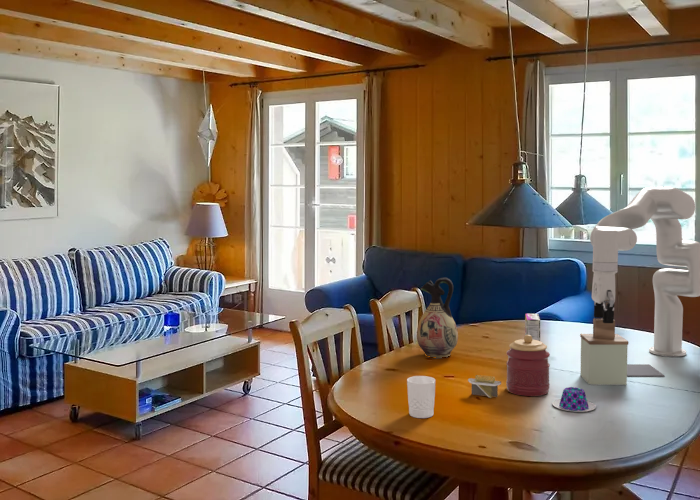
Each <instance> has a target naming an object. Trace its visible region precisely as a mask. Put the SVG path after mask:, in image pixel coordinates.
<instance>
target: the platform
mask: <svg viewBox="0 0 700 500" xmlns="http://www.w3.org/2000/svg"><path fill="white" fill-rule="evenodd" d="M467 382H469V384H471V395H474V396H485V397H488V398H490V399H491V398H494V397H495V398H498V390H499V388H498V387H499V386H500V385H502V381H499V380H496V377H495V376H491V375H490V376H489V375H481V374H480V375H478V374H477V375H475V378H472V377H471V378H468V379H467Z"/></svg>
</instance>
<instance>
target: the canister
mask: <svg viewBox="0 0 700 500" xmlns="http://www.w3.org/2000/svg"><path fill="white" fill-rule="evenodd" d="M508 346H509V350H506V356H508V357H507V361H506V381H505V382H506V388H507V389H506V390H507V391H508V392H509V393H511V394H514V395H518V396H522V397H523V396H525V397H539V396H545V395H546V394H548V393H549V389H550V365H551V364H550V363H549V357H550V355H551V354H550V352H548V351H547V349H548V346H547V345H546V344H545V343H543V342H542V341H541V340H540V341H538V340H533V338H532V336H531V335H525V334H524V336H523V338H521V339H515V340H514V341H513V342H511V343H509V345H508Z"/></svg>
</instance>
